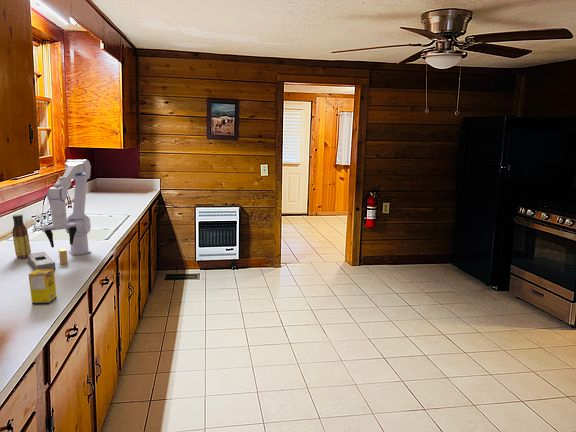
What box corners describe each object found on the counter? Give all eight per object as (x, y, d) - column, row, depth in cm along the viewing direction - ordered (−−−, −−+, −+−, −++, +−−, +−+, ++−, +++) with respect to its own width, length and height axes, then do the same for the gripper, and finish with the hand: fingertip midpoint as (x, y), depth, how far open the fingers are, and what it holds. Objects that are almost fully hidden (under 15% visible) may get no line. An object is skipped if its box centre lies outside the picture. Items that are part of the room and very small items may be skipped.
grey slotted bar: (27, 260, 218) (27, 254, 218) (44, 258, 223) (44, 251, 222) (37, 272, 201) (36, 265, 201) (55, 269, 205) (55, 262, 205)
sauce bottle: (27, 254, 229) (23, 213, 225) (33, 256, 225) (29, 214, 221) (13, 257, 224) (7, 215, 220) (18, 259, 220) (13, 216, 216)
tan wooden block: (59, 262, 215) (58, 249, 214) (65, 261, 217) (64, 248, 216) (61, 264, 212) (60, 251, 211) (67, 263, 214) (66, 250, 213)
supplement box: (57, 298, 172) (54, 268, 170) (49, 304, 166) (46, 273, 164) (39, 298, 172) (36, 268, 169) (31, 304, 166) (28, 274, 164)
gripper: (42, 218, 203) (45, 250, 205) (79, 214, 211) (81, 244, 214) (39, 215, 208) (42, 246, 211) (75, 212, 217) (77, 241, 220)
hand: (62, 245), depth 213 cm, fingers open, 7 cm apart
